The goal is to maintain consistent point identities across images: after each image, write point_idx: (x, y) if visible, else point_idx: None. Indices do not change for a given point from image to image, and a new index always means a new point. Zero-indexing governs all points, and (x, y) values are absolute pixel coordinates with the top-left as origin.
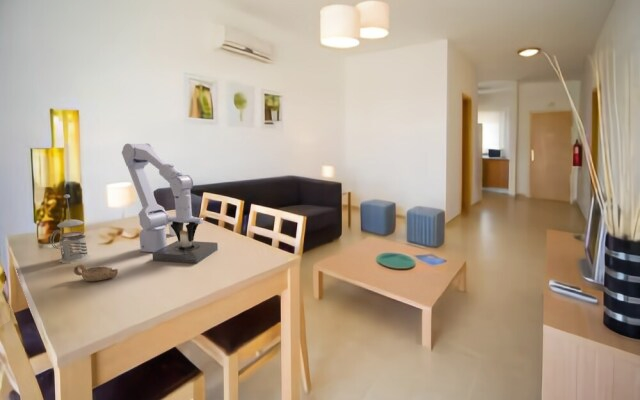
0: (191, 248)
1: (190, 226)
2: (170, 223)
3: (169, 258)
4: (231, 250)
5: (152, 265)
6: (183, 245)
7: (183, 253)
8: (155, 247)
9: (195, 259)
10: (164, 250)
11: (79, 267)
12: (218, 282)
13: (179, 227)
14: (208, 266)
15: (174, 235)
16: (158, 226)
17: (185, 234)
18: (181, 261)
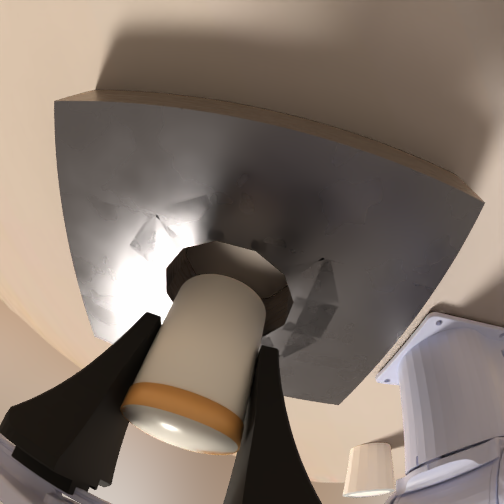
0: None
1: (7, 421)
2: (385, 483)
3: (319, 128)
4: (57, 285)
5: (430, 64)
6: (218, 287)
7: (174, 149)
8: (456, 344)
9: (80, 95)
10: (398, 254)
11: None
12: None
13: (234, 486)
14: (31, 67)
15: (375, 443)
16: (447, 479)
17: (150, 380)
18: (203, 98)
